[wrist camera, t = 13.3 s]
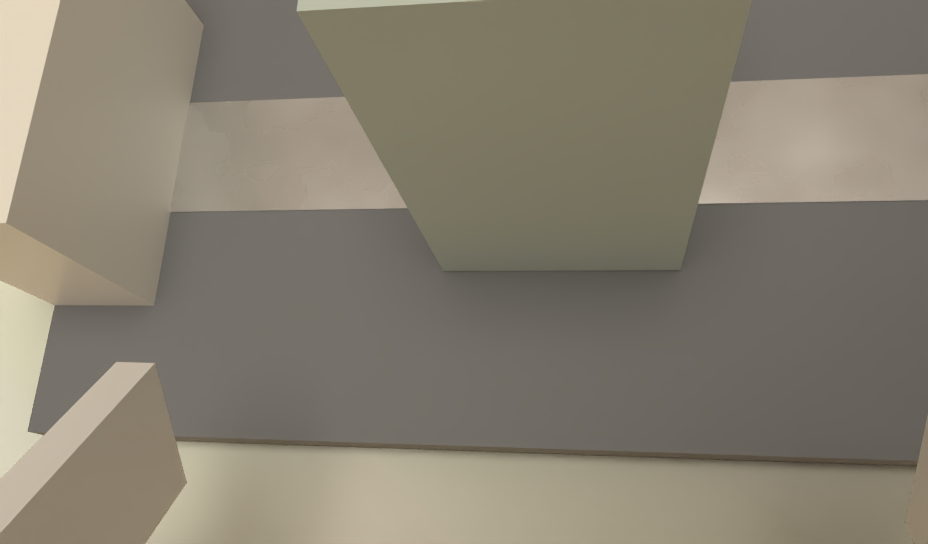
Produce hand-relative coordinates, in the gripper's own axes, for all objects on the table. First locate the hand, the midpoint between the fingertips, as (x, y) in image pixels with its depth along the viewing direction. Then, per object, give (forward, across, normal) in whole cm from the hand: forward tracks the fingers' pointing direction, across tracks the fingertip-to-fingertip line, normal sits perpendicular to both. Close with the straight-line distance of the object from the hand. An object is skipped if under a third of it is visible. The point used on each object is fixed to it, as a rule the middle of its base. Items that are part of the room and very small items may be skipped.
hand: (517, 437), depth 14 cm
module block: (+10, 0, +2) cm, 10 cm away
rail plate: (+11, 0, +1) cm, 11 cm away
